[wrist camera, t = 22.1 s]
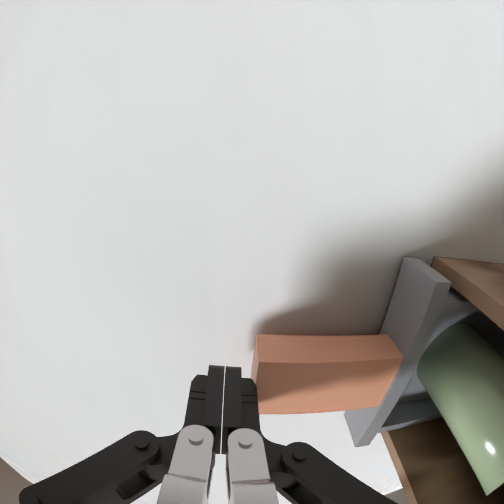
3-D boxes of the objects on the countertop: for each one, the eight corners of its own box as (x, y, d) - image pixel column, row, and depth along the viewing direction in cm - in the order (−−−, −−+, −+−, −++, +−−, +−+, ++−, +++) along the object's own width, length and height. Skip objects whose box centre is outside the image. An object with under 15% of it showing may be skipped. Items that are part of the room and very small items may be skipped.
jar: (405, 366, 14) (481, 497, 5) (464, 307, 13) (567, 415, 4) (430, 391, 16) (490, 494, 6) (480, 343, 14) (556, 433, 5)
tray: (243, 417, 16) (244, 454, 14) (265, 244, 12) (272, 273, 10) (453, 393, 18) (469, 415, 15) (513, 267, 14) (540, 284, 11)
